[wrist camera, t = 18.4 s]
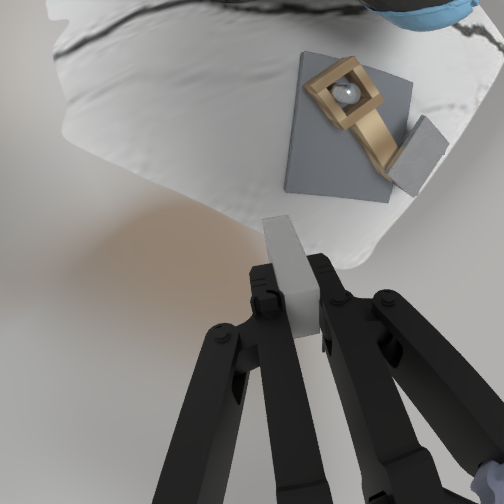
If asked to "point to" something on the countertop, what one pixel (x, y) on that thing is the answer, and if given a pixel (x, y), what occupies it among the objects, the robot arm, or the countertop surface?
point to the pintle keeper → (405, 146)
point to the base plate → (341, 139)
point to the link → (356, 111)
